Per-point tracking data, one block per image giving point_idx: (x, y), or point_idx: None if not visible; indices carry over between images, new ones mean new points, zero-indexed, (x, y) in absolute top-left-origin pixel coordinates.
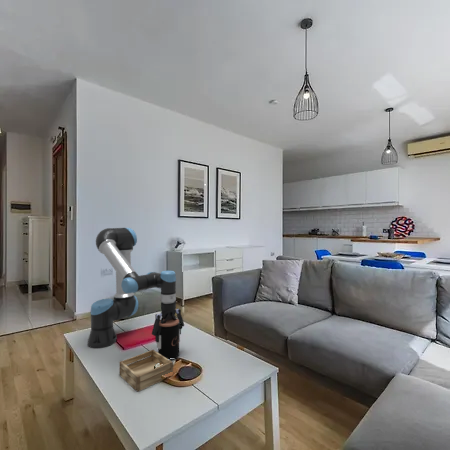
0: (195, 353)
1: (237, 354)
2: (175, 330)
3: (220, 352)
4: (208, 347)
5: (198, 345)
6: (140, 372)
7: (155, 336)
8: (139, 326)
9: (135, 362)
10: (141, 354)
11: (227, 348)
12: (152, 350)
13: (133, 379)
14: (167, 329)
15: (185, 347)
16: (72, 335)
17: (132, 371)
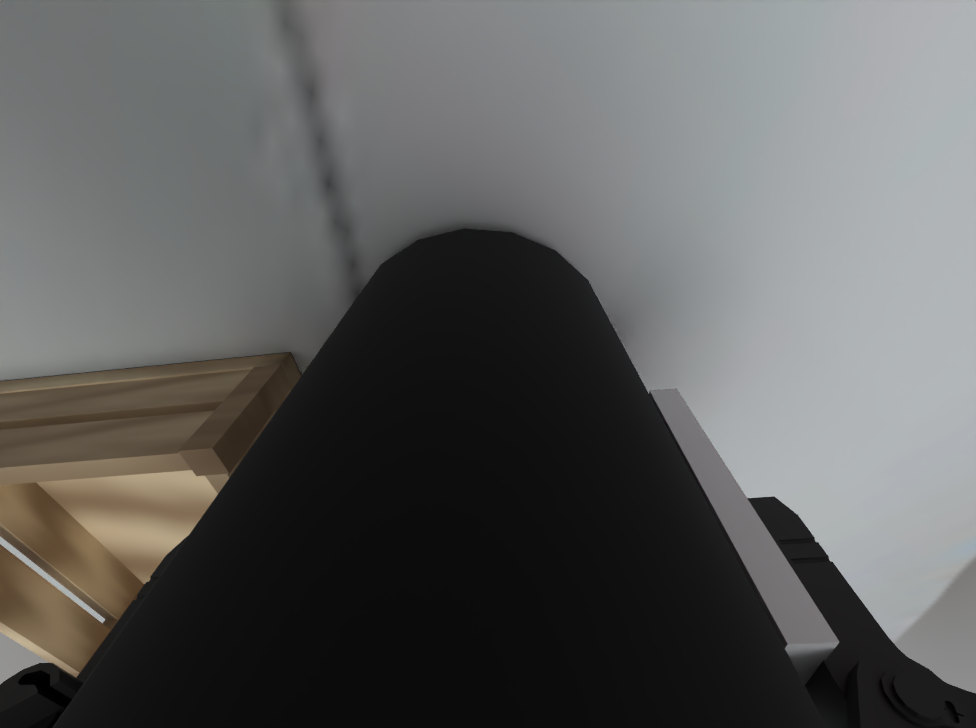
0: (716, 447)
1: (890, 595)
2: None
3: (860, 533)
4: (910, 427)
5: (909, 332)
6: (145, 481)
7: (93, 661)
8: None
9: (37, 425)
10: (41, 476)
11: (967, 521)
12: (199, 465)
13: (78, 593)
14: None
15: (767, 280)
16: None
17: (17, 636)
